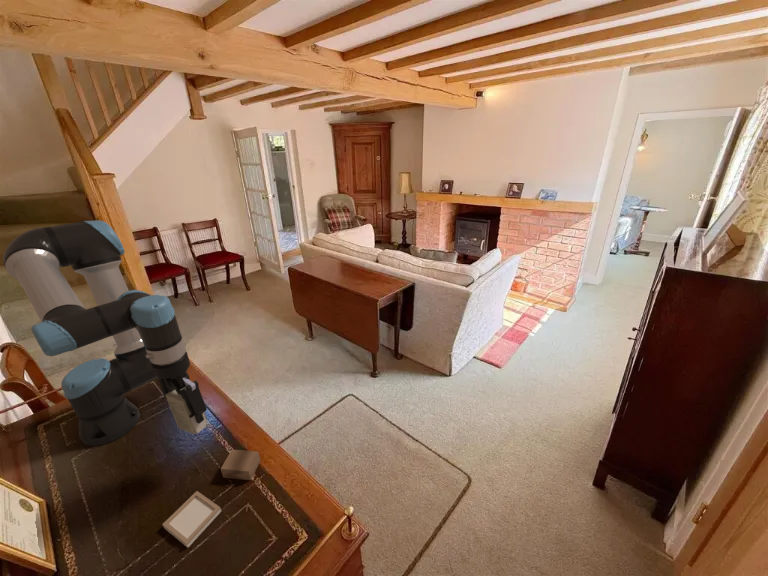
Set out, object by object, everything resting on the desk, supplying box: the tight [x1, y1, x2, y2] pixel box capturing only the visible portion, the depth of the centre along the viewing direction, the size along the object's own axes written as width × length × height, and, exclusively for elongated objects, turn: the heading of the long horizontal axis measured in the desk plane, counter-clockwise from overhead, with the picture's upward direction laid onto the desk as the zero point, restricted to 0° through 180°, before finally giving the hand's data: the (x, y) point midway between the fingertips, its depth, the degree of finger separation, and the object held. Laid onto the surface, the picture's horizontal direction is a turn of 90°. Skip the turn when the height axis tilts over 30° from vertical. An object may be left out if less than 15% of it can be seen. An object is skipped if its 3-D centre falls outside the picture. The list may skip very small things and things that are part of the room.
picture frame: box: [162, 490, 222, 548], centre depth 78 cm, size 9×9×2 cm
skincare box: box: [166, 387, 208, 435], centre depth 84 cm, size 6×4×12 cm
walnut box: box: [220, 448, 261, 481], centre depth 90 cm, size 8×6×4 cm
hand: (192, 423), depth 87 cm, fingers closed on skincare box, 6 cm apart
